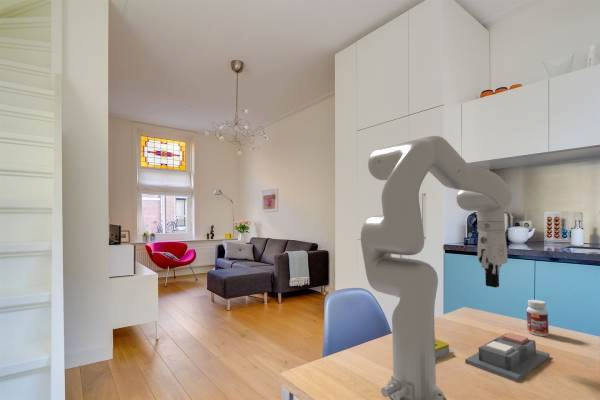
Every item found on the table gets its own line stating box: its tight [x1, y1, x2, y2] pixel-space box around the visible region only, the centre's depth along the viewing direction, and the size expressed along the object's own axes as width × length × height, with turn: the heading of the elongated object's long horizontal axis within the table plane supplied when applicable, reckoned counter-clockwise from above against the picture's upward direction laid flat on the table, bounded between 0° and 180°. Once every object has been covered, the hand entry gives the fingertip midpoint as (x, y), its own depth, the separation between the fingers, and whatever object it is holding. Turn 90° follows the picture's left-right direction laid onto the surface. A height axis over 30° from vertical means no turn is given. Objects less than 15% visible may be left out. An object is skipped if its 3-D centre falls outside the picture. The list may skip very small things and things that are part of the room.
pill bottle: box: [526, 299, 550, 337], centre depth 113 cm, size 6×6×11 cm
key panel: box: [464, 332, 550, 383], centre depth 92 cm, size 24×13×4 cm, turn 126°
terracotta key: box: [503, 332, 529, 345], centre depth 96 cm, size 5×5×3 cm
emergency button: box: [435, 338, 454, 360], centre depth 98 cm, size 9×4×15 cm
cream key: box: [486, 341, 513, 355], centre depth 89 cm, size 5×5×3 cm
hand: (492, 286), depth 98 cm, fingers closed
